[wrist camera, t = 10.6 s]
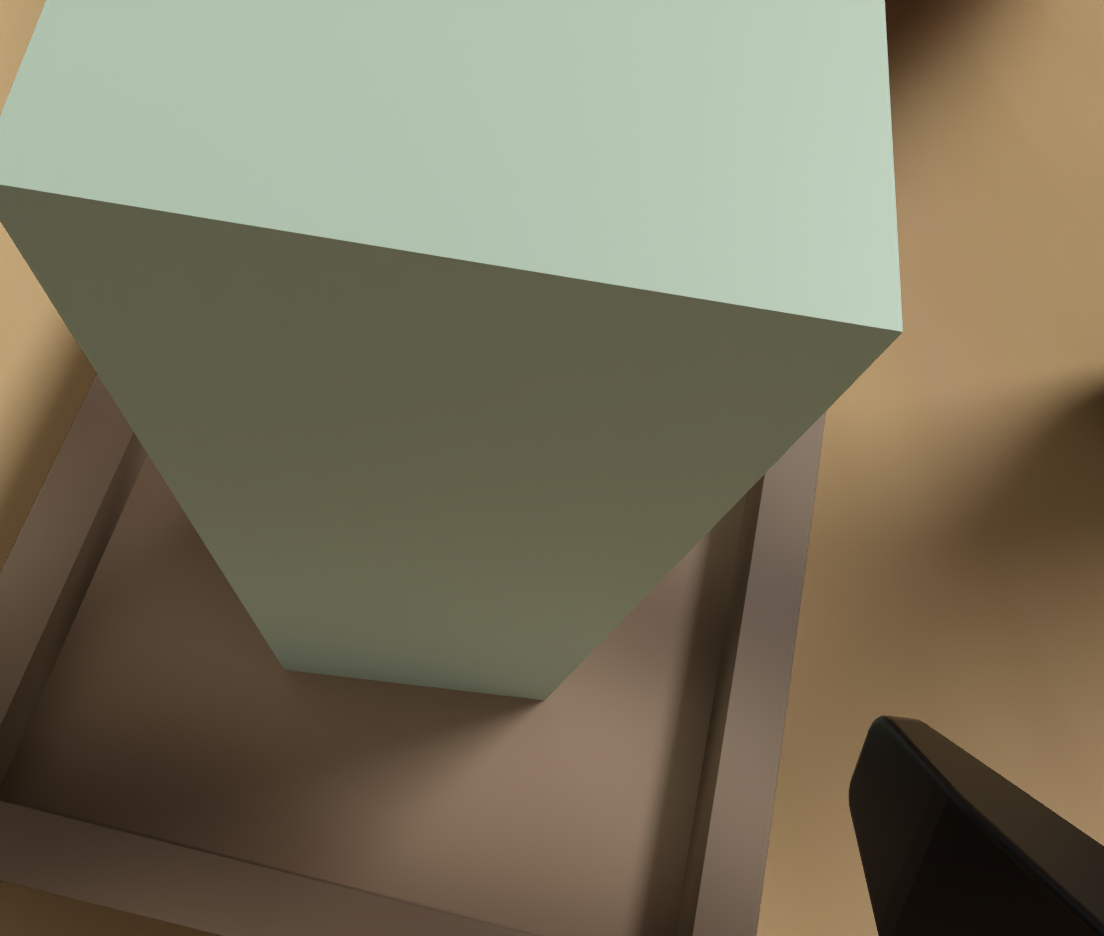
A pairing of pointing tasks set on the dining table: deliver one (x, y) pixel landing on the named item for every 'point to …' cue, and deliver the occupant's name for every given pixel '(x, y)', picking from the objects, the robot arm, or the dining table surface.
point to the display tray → (381, 738)
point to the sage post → (459, 291)
